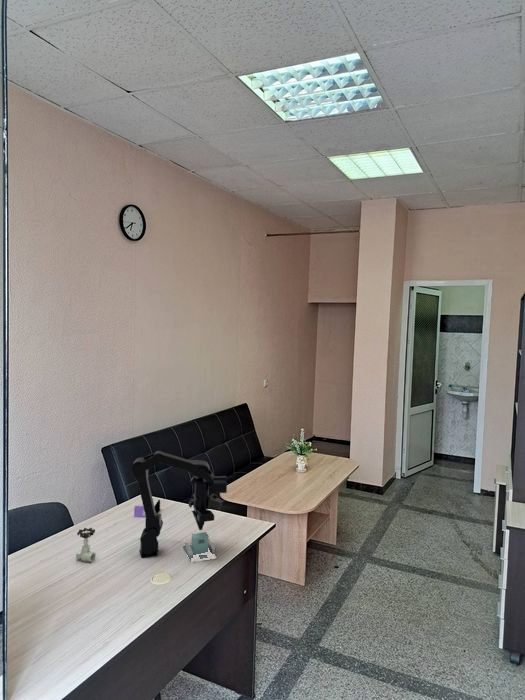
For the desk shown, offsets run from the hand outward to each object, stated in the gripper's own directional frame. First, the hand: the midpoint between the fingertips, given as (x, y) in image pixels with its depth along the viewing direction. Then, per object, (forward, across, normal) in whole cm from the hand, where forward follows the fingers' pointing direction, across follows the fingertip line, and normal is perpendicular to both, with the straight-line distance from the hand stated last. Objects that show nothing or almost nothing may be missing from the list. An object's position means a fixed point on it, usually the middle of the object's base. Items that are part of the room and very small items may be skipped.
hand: (200, 529), depth 195 cm
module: (+9, 0, 0) cm, 9 cm away
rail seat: (+10, 0, 0) cm, 10 cm away
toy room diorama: (+10, +45, +14) cm, 49 cm away
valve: (+10, +8, +44) cm, 46 cm away
